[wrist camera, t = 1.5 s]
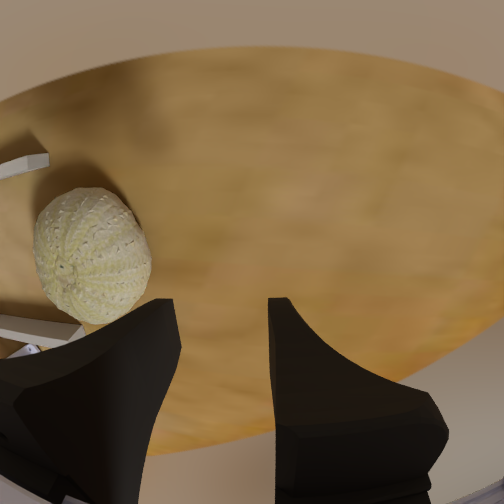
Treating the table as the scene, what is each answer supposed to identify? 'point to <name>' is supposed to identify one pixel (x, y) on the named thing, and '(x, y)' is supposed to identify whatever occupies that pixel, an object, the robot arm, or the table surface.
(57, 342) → the grey u-shaped bracket
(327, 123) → the table surface
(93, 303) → the sea urchin shell
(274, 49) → the table surface
